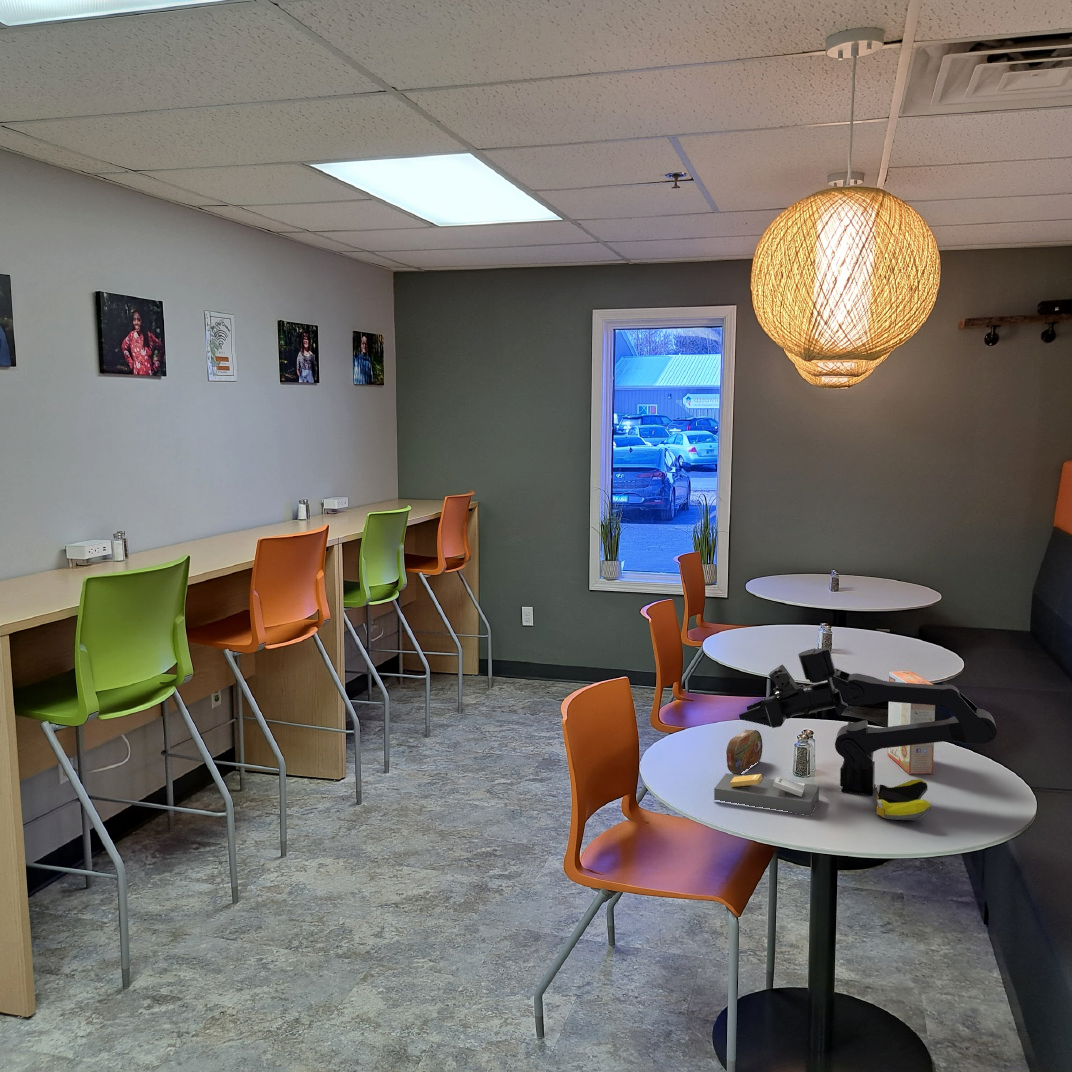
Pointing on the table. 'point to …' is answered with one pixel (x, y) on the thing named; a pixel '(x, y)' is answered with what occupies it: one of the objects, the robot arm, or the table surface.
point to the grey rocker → (789, 786)
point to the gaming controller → (903, 801)
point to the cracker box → (919, 755)
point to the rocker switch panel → (767, 795)
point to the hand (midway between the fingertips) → (743, 712)
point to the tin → (744, 751)
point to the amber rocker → (746, 780)
